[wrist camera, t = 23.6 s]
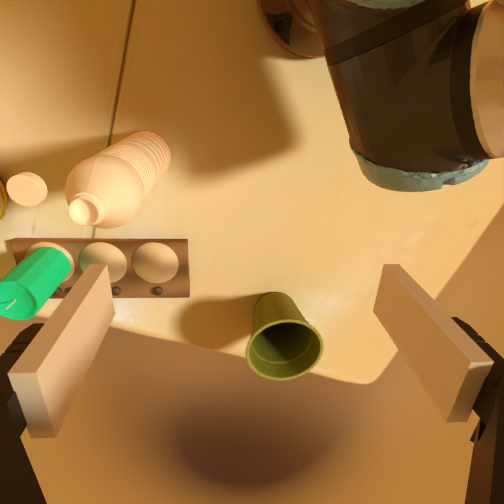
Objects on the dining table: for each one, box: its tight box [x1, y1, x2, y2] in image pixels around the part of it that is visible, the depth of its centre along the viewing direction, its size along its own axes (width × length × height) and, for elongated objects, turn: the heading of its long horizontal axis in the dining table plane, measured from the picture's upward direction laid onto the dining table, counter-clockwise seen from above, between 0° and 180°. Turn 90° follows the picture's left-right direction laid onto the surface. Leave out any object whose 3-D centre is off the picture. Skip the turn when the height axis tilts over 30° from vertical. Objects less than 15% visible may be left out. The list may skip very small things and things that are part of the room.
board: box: [10, 238, 190, 298], centre depth 55 cm, size 10×26×2 cm, turn 88°
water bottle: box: [6, 131, 171, 229], centre depth 37 cm, size 9×6×25 cm
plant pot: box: [246, 292, 323, 380], centre depth 57 cm, size 12×12×11 cm
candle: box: [0, 247, 71, 320], centre depth 48 cm, size 6×6×12 cm
